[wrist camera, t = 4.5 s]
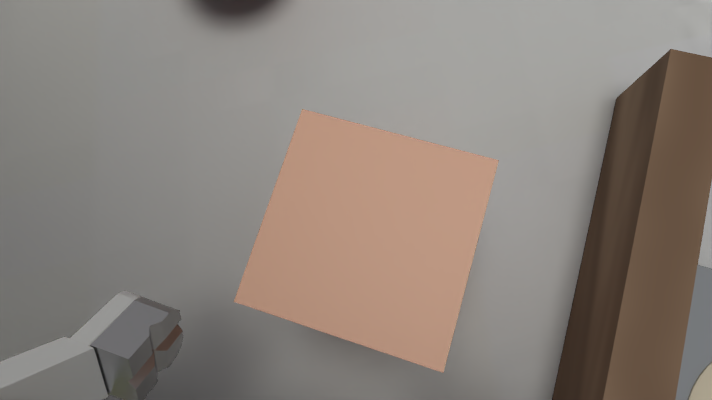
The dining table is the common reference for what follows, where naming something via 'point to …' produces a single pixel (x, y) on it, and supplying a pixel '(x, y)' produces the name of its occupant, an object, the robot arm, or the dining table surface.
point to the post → (370, 237)
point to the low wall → (643, 239)
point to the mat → (698, 342)
